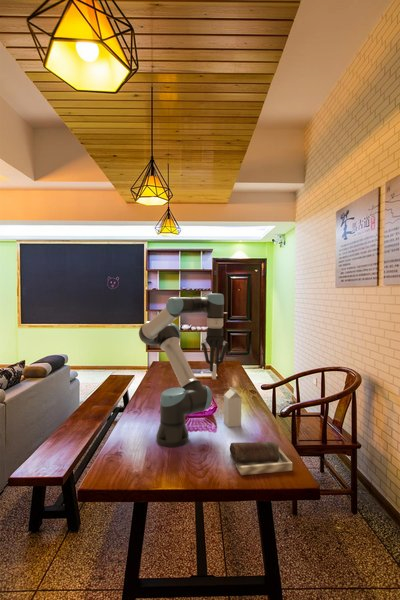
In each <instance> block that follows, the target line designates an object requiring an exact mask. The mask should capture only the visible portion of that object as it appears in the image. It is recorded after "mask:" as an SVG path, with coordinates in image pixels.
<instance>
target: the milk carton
mask: <svg viewBox="0 0 400 600" xmlns="http://www.w3.org/2000/svg"><path fill="white" fill-rule="evenodd" d="M239 394H240V392H239V391H238V390H236V389H235V388H233V387H231V386H230V387H229V390H227V391H226V392H225V393H224V394H223V396H224V398H223V423H224V424H225V425H226V427H228V428H235V427H241V426H242V397H241V396H240V395H239Z"/></svg>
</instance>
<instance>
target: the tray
mask: <svg viewBox="0 0 400 600" xmlns="http://www.w3.org/2000/svg"><path fill="white" fill-rule="evenodd" d="M229 453H230V454H229V455H230V458H231V459H232V460H233V458H232V456H231V452H230V451H229ZM233 463H234V465H235V467H236V469H237V471H238V473H239V474H240V476H248V475H249V476H250V475H259V474H268V473H269V474H271V473H279V472H291V471H293V462H292V461H291V459H290V458H289V457H288V456H287V455H286V454H285V453H284V451H282V449H281V448H280V447H279V460H278V461H255V462H234V461H233Z"/></svg>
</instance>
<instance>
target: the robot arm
mask: <svg viewBox="0 0 400 600" xmlns="http://www.w3.org/2000/svg"><path fill="white" fill-rule="evenodd" d="M224 296H225V295H224V294H223V293H208V294H207V297H204V296H183V297H182V296H172V297H169V298H168V299H166V300H167V301H166V303H165V307H164V308H163V309H161V311H160V312H159V313H157V314H156V315H155V316H154V317H153V318H152V319H151V320H149V321H146V322H145V323H143V324H141V326H140V327H139V330H138V337H139V338H140V340H141V342H143V344H145V345H148V346H159V349H161V351H164V352H165V354H166V357H167V358H168V361H169V363H170V365H171V368H172V370H173V373H174V374H175V376H176V379H177V382H178V383H179V385H180V387H179V386H178V387H170V388H167V389H165V390H164V391H161V392H162V393H161V395H160V400H159V404H160V408H159V409H160V410H159V412H160V416H159V417H160V419H159V422H160V424H159V427H158V429H157V432H156V436H155V440H156V443H157V444H158V445H160V446H163V447H168V448H176V447H177V448H178V447H181V446H184V445H185V444H187V443H188V442H189V439H190V438H189V431H188V428H187V425H186V416H189V415H192V414H195V413H200V412H204V411H206V410H208V409H210V407H211V406H212V402H213V395H212V394H213V393H212V391H211V388H210V387H209V386H207V385H203V383H202V382H201V380H199V379H197V378H196V376H195V374H194V372H193V370H192V368H191V366H190V363H189V362H188V360H187V358H186V356H185V353H184V352H183V349H182V348H181V345H180V342H181V341H180V340H181V336H182V335H181V330H180V328H179V326H178V325H177V324H175V323H174V321H175V320H176V319H179V318H180V316H182V315H184V314H206V326H207V327H206V337H205V340H204V341H201V342H200V345H201V346H202V349H203V354H204V359H205V362H206V363H207V364H209V371H210V372H211V379H212V380H217V372H219V365H220V364H222V363H224V358H225V355H226V354H225V353H226V352H227V348H228V346H229V342H227V341H226V340H225V338H224V328H223V327H224V315H225V313H224V309H225V307H224V306H225V297H224ZM207 345H208V346H209V354H208V349H207ZM221 346H222V348H221V350H220V347H221ZM214 350H215V352H214ZM214 356H215V357H214Z"/></svg>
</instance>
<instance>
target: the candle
mask: <svg viewBox="0 0 400 600" xmlns="http://www.w3.org/2000/svg"><path fill="white" fill-rule="evenodd" d="M279 448H280V445H279V443H278V442H276V441H256V442H254V441H253V442H249V441H248V442H245V441H244V442H230V446H229V453H230V452H231V456H232V458H233V459H232V458H231V459H232V461H233V463H234V462H255V461H278V460H279ZM231 456H230V457H231Z"/></svg>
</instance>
